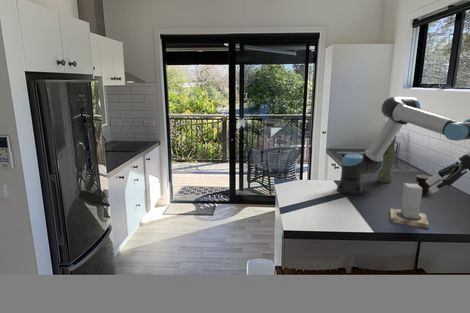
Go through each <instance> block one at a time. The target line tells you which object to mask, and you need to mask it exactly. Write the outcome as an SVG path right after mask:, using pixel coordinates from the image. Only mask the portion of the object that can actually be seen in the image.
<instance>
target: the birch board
mask: <svg viewBox="0 0 470 313" xmlns="http://www.w3.org/2000/svg"><path fill="white" fill-rule="evenodd" d="M389 210H390V211H389V215H390V216H389V217H390V222H391V223H395V224H401V225H407V226H414V227H418V228H426V229H429V226H430V223H429V221H428V217H427V214H426V213H424V212H420V213H419V219H415V218H406V217H404V215H403V214H402V213H401V209H397V208H390V209H389Z"/></svg>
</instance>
